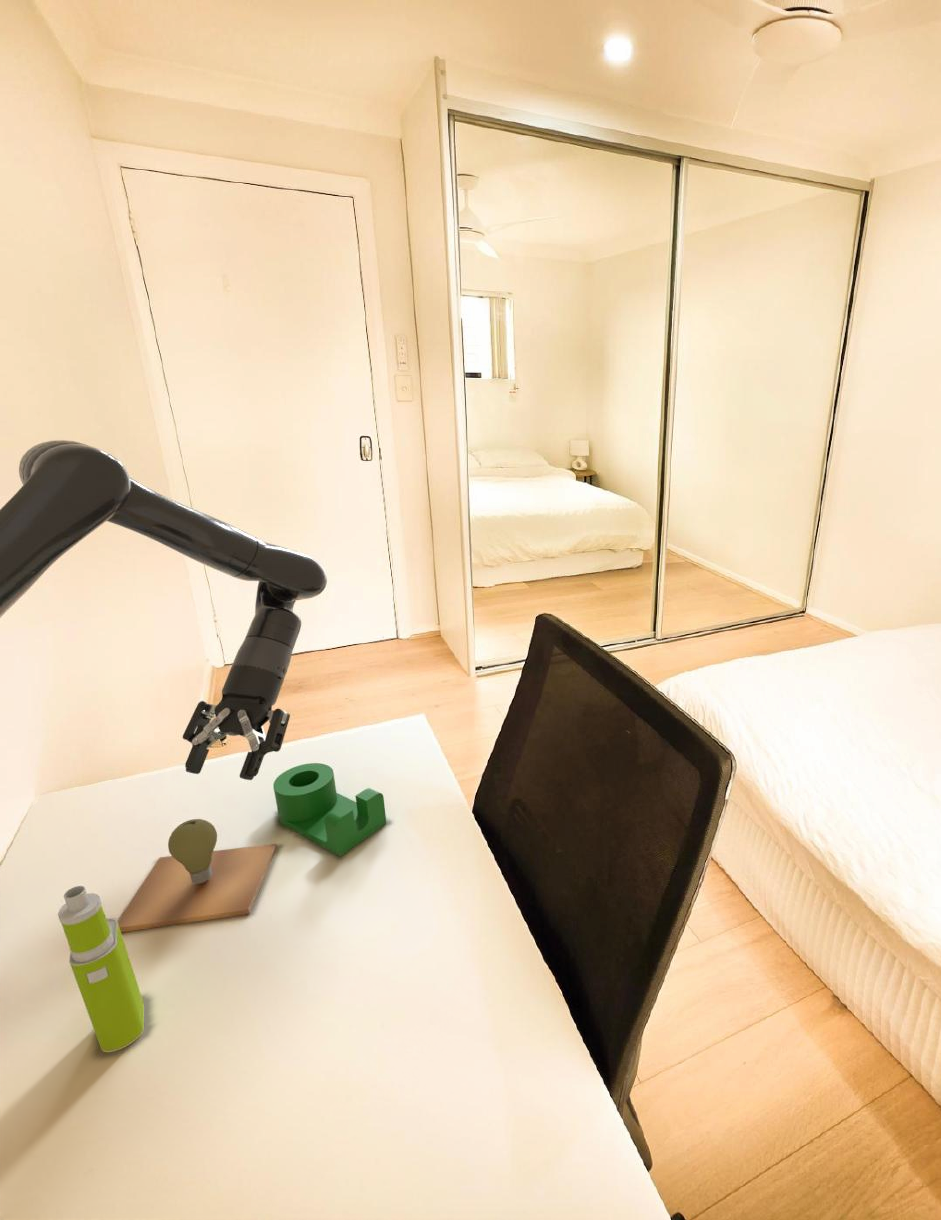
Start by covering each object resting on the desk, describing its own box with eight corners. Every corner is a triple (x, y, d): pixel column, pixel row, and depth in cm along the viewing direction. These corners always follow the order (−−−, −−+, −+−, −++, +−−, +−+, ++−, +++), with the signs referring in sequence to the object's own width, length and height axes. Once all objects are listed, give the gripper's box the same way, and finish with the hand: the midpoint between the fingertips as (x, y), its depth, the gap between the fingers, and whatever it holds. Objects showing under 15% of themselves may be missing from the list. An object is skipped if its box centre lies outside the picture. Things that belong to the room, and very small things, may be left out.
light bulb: (220, 860, 89) (207, 805, 86) (230, 881, 86) (217, 824, 82) (175, 880, 86) (160, 822, 82) (184, 902, 82) (168, 843, 79)
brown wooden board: (113, 933, 78) (112, 928, 78) (160, 861, 90) (159, 857, 90) (249, 914, 81) (248, 909, 81) (277, 847, 93) (276, 843, 93)
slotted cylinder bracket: (267, 816, 100) (261, 784, 98) (315, 788, 107) (310, 757, 105) (340, 856, 92) (335, 821, 90) (386, 822, 99) (382, 790, 97)
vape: (100, 1059, 63) (46, 914, 57) (103, 1014, 68) (54, 874, 61) (144, 1039, 65) (97, 896, 59) (144, 996, 70) (100, 859, 63)
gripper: (201, 659, 91) (155, 766, 84) (287, 666, 90) (248, 776, 83) (232, 675, 98) (192, 775, 91) (313, 682, 97) (278, 785, 90)
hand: (218, 776), depth 87 cm, fingers open, 8 cm apart
